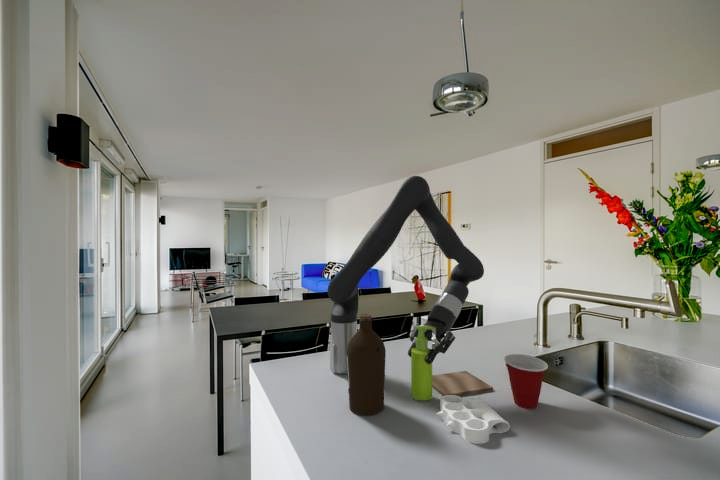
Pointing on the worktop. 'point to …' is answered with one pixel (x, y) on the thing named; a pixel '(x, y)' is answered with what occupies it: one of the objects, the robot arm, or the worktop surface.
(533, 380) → the plastic cup
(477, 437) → the white flat holed block
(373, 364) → the olive oil
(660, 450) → the worktop surface
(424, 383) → the soap dispenser
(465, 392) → the soap board
